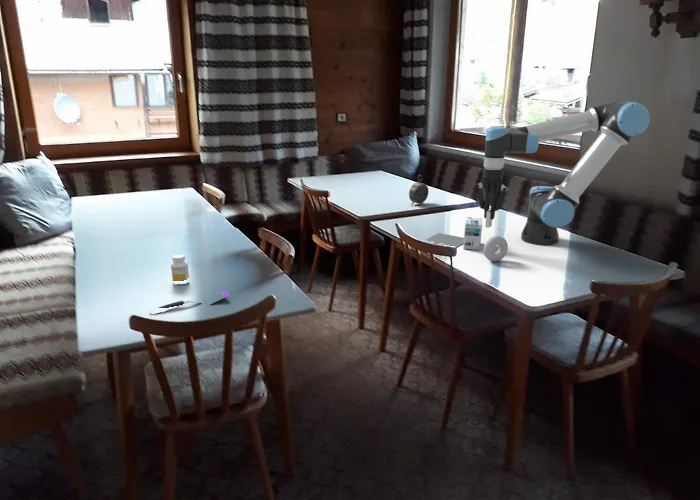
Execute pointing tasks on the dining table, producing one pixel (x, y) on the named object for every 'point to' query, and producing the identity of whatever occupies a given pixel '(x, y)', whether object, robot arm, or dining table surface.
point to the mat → (447, 239)
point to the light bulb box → (472, 233)
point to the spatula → (189, 301)
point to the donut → (501, 251)
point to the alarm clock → (418, 192)
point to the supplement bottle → (179, 268)
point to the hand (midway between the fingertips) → (488, 226)
